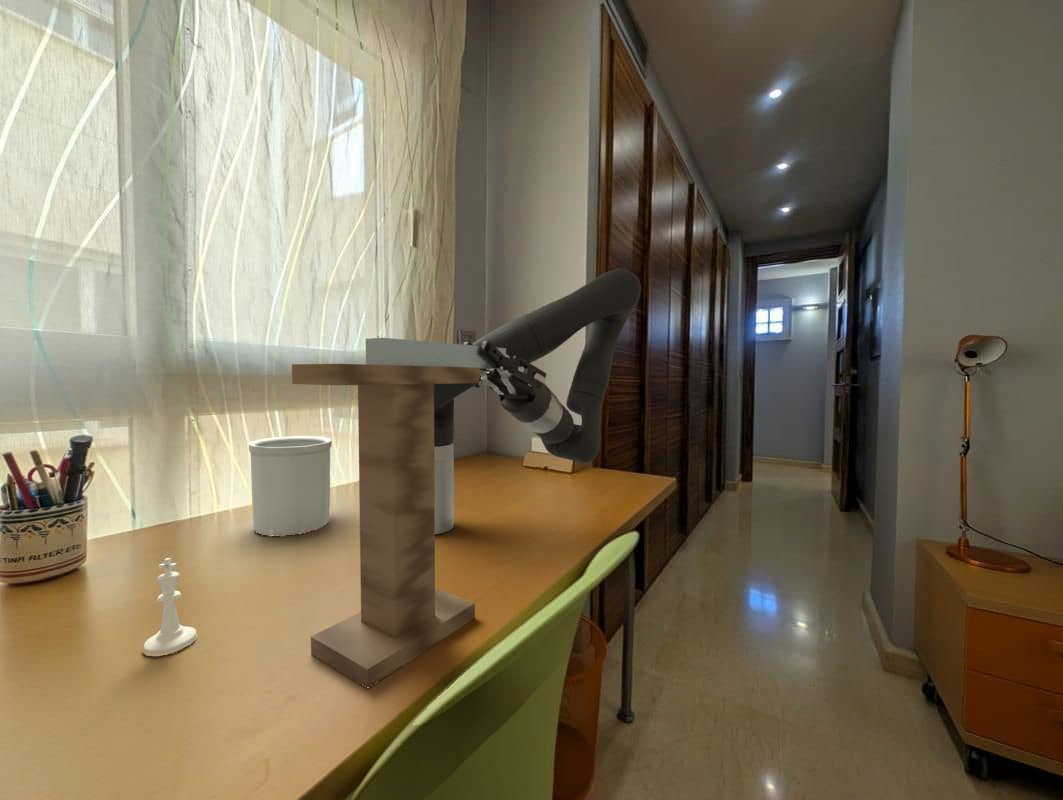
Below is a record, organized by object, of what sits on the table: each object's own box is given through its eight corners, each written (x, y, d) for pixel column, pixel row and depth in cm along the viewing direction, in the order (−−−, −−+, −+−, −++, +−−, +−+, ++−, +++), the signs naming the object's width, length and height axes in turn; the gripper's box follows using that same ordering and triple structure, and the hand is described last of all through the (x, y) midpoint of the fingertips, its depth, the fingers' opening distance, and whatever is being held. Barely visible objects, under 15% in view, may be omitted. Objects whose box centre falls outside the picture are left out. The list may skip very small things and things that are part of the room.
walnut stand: (431, 591, 66) (429, 367, 64) (484, 611, 60) (485, 367, 58) (293, 663, 49) (286, 364, 47) (349, 701, 43) (344, 363, 42)
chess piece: (163, 632, 55) (160, 550, 54) (206, 631, 55) (204, 549, 54) (130, 658, 50) (127, 568, 49) (179, 656, 50) (175, 567, 50)
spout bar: (490, 368, 69) (490, 348, 69) (505, 368, 68) (505, 348, 67) (365, 365, 51) (365, 338, 51) (383, 365, 49) (383, 337, 49)
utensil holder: (347, 522, 96) (346, 439, 95) (276, 544, 83) (274, 448, 82) (307, 510, 104) (305, 434, 103) (236, 529, 91) (233, 442, 90)
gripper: (505, 383, 82) (446, 327, 69) (575, 384, 74) (522, 321, 61) (492, 420, 79) (428, 369, 66) (563, 426, 71) (505, 369, 58)
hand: (473, 347), depth 64 cm, fingers closed on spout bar, 3 cm apart
